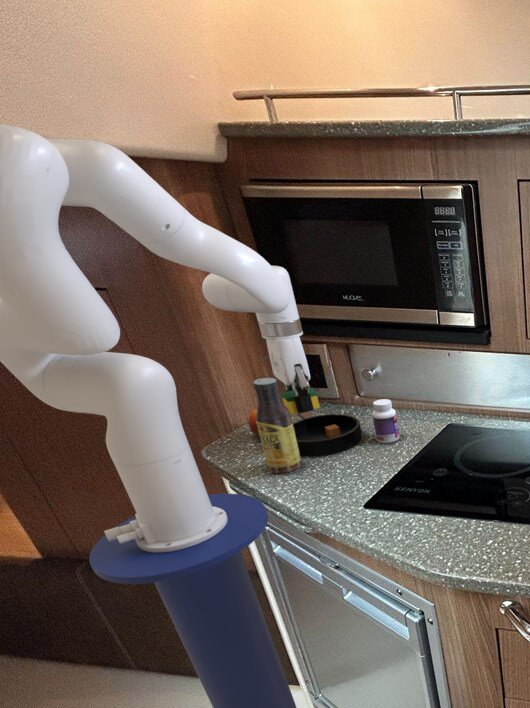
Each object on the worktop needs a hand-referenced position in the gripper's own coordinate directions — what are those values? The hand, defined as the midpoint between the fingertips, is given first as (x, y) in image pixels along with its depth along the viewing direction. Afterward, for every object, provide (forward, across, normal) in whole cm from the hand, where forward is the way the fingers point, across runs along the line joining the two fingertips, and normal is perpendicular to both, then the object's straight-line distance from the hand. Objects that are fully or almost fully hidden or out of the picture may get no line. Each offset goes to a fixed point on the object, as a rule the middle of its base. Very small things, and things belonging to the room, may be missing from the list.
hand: (301, 407), depth 113 cm
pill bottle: (+10, +9, +14) cm, 20 cm away
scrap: (+9, 0, +5) cm, 10 cm away
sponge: (0, 0, 0) cm, 0 cm away
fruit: (+10, -12, -5) cm, 16 cm away
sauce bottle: (+9, +8, -8) cm, 15 cm away
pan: (+10, -3, +3) cm, 10 cm away
